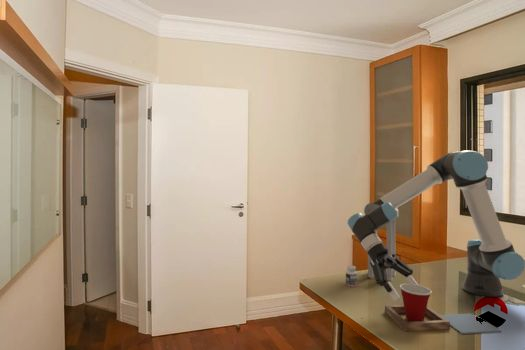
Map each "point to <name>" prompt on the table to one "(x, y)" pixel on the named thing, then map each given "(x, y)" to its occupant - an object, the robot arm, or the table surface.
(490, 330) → the coaster
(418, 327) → the wooden frame
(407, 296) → the plastic cup
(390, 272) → the stool
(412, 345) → the table surface
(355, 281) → the pill bottle
